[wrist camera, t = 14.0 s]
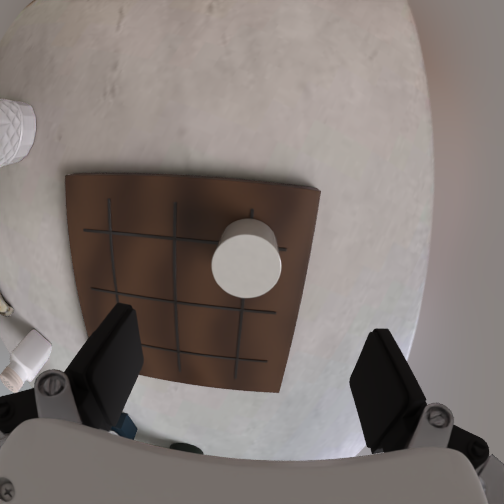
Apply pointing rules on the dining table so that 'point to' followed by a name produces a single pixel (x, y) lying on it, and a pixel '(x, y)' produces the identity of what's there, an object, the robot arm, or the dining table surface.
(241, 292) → the white cylinder
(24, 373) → the pepper shaker
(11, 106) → the white cup
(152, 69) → the dining table surface
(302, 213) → the board
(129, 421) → the watch
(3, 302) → the oyster shell
